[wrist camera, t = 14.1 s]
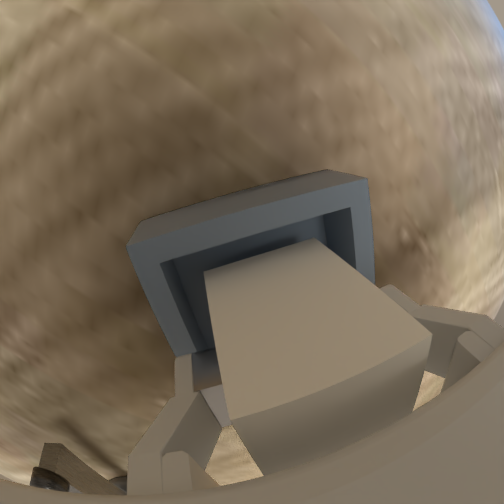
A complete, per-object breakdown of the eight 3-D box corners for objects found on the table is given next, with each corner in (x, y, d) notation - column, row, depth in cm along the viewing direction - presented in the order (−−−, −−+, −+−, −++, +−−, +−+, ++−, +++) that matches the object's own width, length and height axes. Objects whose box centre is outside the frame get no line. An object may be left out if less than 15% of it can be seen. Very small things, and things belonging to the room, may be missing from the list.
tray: (201, 367, 14) (207, 411, 11) (140, 221, 11) (125, 246, 8) (344, 319, 14) (373, 352, 12) (327, 169, 11) (367, 178, 9)
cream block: (234, 356, 11) (272, 488, 6) (203, 271, 10) (229, 420, 4) (326, 325, 12) (404, 432, 6) (314, 237, 10) (432, 334, 5)
